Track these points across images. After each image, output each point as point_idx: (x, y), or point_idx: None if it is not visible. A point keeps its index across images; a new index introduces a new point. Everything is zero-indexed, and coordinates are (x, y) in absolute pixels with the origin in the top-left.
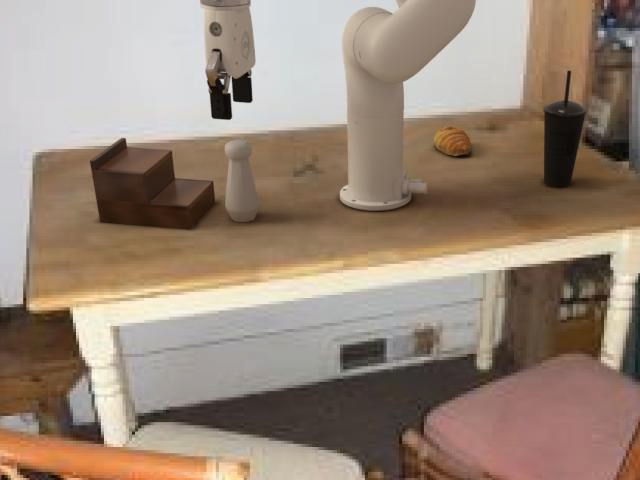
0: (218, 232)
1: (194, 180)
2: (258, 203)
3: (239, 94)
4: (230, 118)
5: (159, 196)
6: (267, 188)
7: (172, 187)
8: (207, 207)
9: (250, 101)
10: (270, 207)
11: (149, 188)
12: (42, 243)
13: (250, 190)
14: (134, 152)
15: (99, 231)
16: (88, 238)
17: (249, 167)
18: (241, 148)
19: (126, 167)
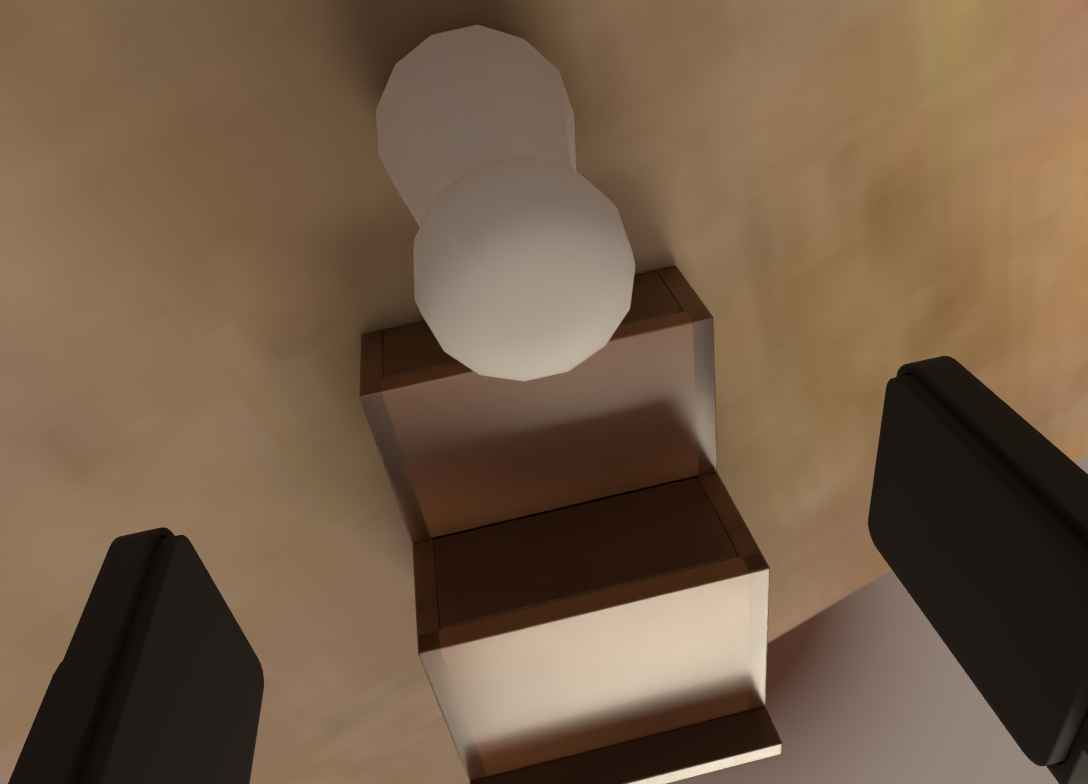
0: (672, 133)
1: (398, 468)
2: (455, 34)
3: (220, 700)
4: (951, 360)
5: (635, 475)
6: (25, 209)
7: (518, 492)
8: None
9: (170, 538)
10: (265, 43)
11: (693, 516)
12: (869, 574)
13: (517, 80)
14: (520, 731)
15: (761, 512)
16: (819, 505)
17: (489, 144)
18: (602, 217)
19: (706, 654)
